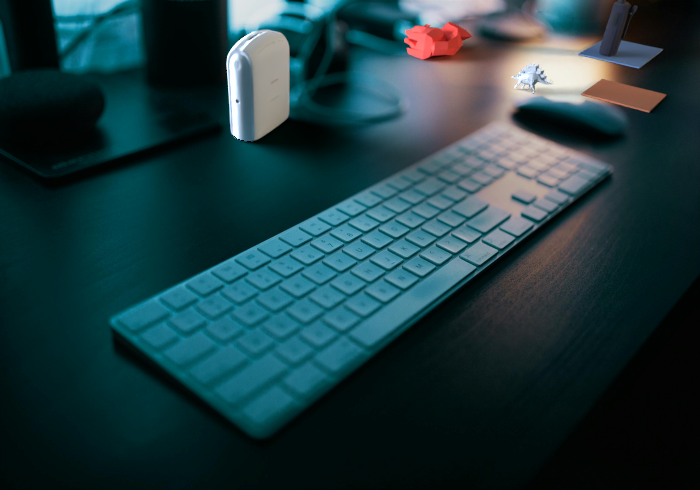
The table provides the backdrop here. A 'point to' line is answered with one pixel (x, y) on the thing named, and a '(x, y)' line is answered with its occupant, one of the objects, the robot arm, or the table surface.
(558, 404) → the table surface
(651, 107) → the terracotta mat
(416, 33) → the animal figurine
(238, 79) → the photo printer
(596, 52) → the slate mat
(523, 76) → the stegosaurus
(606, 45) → the two-way radio
